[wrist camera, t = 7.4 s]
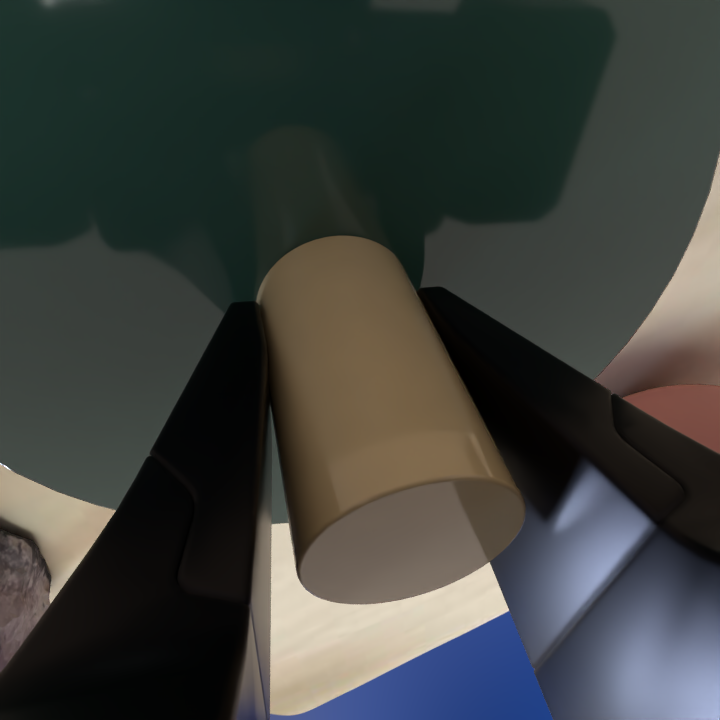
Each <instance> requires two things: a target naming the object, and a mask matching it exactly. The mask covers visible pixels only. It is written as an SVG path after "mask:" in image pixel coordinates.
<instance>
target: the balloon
mask: <svg viewBox="0 0 720 720" xmlns="http://www.w3.org/2000/svg"><path fill="white" fill-rule="evenodd" d="M623 399H625V400H626V401H628V402H629V403H631V404H633V405H634V406H636V407H638V408H639V409H641V410H643V411H644V412H646V413H648V414H649V415H651V416H653V417H654V418H656V419H658V420H659V421H661V422H663V423H664V424H666V425H668V426H670V427H671V428H673V429H675V430H677V431H679V432H680V433H682V434H684V435H686V436H688V437H690V438H691V439H693V440H695V441H697V442H699V443H701V444H702V445H704V446H706V447H708V448H710V449H712V450H714V451H715V452H717V453H719V454H720V386H716V385H701V384H686V385H671V386H664V387H658V388H653V389H649V390H644V391H641V392H637V393H634V394H631V395H628V396H625V397H623Z"/></svg>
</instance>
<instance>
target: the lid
mask: <svg viewBox="0 0 720 720" xmlns="http://www.w3.org/2000/svg"><path fill="white" fill-rule="evenodd" d="M719 154H720V0H0V464H1V465H3V466H5V467H6V468H8V469H10V470H11V471H13V472H15V473H17V474H19V475H21V476H23V477H26V478H28V479H30V480H32V481H34V482H37V483H39V484H41V485H43V486H46V487H48V488H50V489H52V490H54V491H57V492H59V493H62V494H65V495H68V496H71V497H74V498H77V499H80V500H83V501H86V502H89V503H91V504H94V505H97V506H101V507H105V508H109V509H113V510H117V508H118V506H119V505H120V503H121V501H122V500H123V498H124V496H125V495H126V493H127V491H128V490H129V488H130V486H131V485H132V483H133V481H134V479H135V478H136V476H137V474H138V472H139V470H140V468H141V467H142V465H143V463H144V461H145V459H146V458H147V457H148V456H150V455H149V453H150V451H151V449H152V447H153V445H154V443H155V441H156V440H157V438H158V436H159V434H160V432H161V430H162V429H163V427H164V425H165V423H166V421H167V419H168V418H169V416H170V414H171V412H172V410H173V408H174V406H175V405H176V403H177V401H178V399H179V397H180V395H181V394H182V392H183V390H184V388H185V386H186V384H187V383H188V381H189V379H190V377H191V375H192V373H193V372H194V370H195V368H196V366H197V364H198V362H199V361H200V359H201V357H202V355H203V353H204V351H205V350H206V348H207V346H208V344H209V342H210V340H211V339H212V337H213V335H214V333H215V331H216V329H217V328H218V326H219V324H220V322H221V320H222V318H223V317H224V315H225V313H226V311H227V309H228V307H229V306H230V304H231V303H233V302H242V301H256V302H257V303H258V304H259V308H260V313H261V318H262V323H263V329H264V334H265V339H266V345H267V355H268V374H269V399H270V411H271V429H272V517H271V524H280V523H289V528H290V535H291V541H292V547H293V554H294V560H295V567H296V573H297V577H298V579H299V581H300V583H301V584H302V585H303V587H304V588H305V589H306V590H307V591H308V592H310V593H311V594H313V595H314V596H317V597H319V598H321V599H324V600H327V601H331V602H336V603H343V604H376V603H384V602H391V601H396V600H402V599H406V598H410V597H414V596H417V595H421V594H424V593H427V592H430V591H433V590H436V589H439V588H441V587H444V586H446V585H449V584H451V583H453V582H455V581H457V580H459V579H462V578H463V577H465V576H467V575H469V574H471V573H473V572H474V571H476V570H478V569H479V568H481V567H483V566H484V565H486V564H487V563H488V562H490V561H491V560H493V559H494V558H495V557H496V556H498V555H499V554H500V553H501V552H503V551H504V550H505V549H506V548H507V547H508V546H509V545H510V544H511V542H512V541H513V540H514V539H515V538H516V536H517V535H518V533H519V532H520V530H521V528H522V526H523V524H524V521H525V517H526V503H525V500H524V497H523V495H522V493H521V491H520V489H519V487H518V485H517V483H516V481H515V479H514V477H513V475H512V474H511V472H510V470H509V468H508V466H507V464H506V462H505V460H504V458H503V456H502V454H501V452H500V451H499V449H498V447H497V445H496V443H495V441H494V439H493V437H492V435H491V433H490V431H489V429H488V428H487V426H486V424H485V422H484V420H483V418H482V416H481V414H480V412H479V410H478V408H477V406H476V405H475V403H474V401H473V399H472V397H471V395H470V393H469V391H468V389H467V387H466V385H465V383H464V382H463V380H462V378H461V376H460V374H459V372H458V370H457V368H456V366H455V364H454V362H453V360H452V359H451V357H450V355H449V353H448V351H447V349H446V347H445V345H444V343H443V341H442V339H441V337H440V336H439V334H438V332H437V330H436V328H435V326H434V324H433V322H432V320H431V318H430V316H429V314H428V313H427V311H426V309H425V307H424V305H423V303H422V301H421V299H420V297H419V295H418V293H417V290H418V289H420V288H424V287H436V286H440V287H443V288H445V289H447V290H448V291H450V292H452V293H453V294H455V295H457V296H458V297H460V298H461V299H463V300H465V301H466V302H468V303H469V304H471V305H473V306H474V307H476V308H478V309H479V310H481V311H482V312H484V313H486V314H487V315H489V316H490V317H492V318H494V319H495V320H497V321H499V322H500V323H502V324H503V325H505V326H507V327H508V328H510V329H511V330H513V331H515V332H516V333H518V334H519V335H521V336H523V337H524V338H526V339H528V340H529V341H531V342H532V343H534V344H536V345H537V346H539V347H540V348H542V349H544V350H545V351H547V352H549V353H550V354H552V355H553V356H555V357H557V358H558V359H560V360H561V361H563V362H565V363H566V364H568V365H570V366H571V367H573V368H574V369H576V370H578V371H579V372H581V373H582V374H584V375H586V376H587V377H589V378H591V379H592V380H594V379H595V378H596V377H597V376H598V375H599V374H600V373H601V372H602V371H603V370H604V369H605V368H606V367H607V366H608V364H609V363H610V362H611V361H612V360H613V359H614V358H615V357H616V356H617V354H618V353H619V352H620V351H621V350H622V349H623V348H624V347H625V345H626V344H627V343H628V342H629V340H630V339H631V338H632V336H633V335H634V334H635V332H636V331H637V330H638V328H639V327H640V326H641V324H642V323H643V322H644V321H645V319H646V318H647V317H648V315H649V314H650V313H651V311H652V310H653V308H654V306H655V305H656V303H657V302H658V300H659V298H660V297H661V295H662V293H663V292H664V290H665V289H666V287H667V285H668V284H669V282H670V281H671V279H672V277H673V276H674V274H675V272H676V270H677V268H678V266H679V264H680V262H681V260H682V258H683V256H684V254H685V252H686V250H687V248H688V246H689V244H690V242H691V240H692V238H693V236H694V233H695V230H696V228H697V225H698V222H699V220H700V217H701V214H702V212H703V209H704V206H705V204H706V201H707V198H708V196H709V193H710V190H711V186H712V182H713V178H714V174H715V170H716V166H717V162H718V158H719Z"/></svg>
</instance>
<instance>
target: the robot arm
mask: <svg viewBox="0 0 720 720" xmlns="http://www.w3.org/2000/svg"><path fill="white" fill-rule="evenodd" d="M417 293H418V295H419V297H420V299H421V301H422V303H423V305H424V307H425V309H426V311H427V313H428V314H429V316H430V318H431V320H432V322H433V324H434V326H435V328H436V330H437V332H438V334H439V336H440V337H441V339H442V341H443V343H444V345H445V347H446V349H447V351H448V353H449V355H450V357H451V359H452V360H453V362H454V364H455V366H456V368H457V370H458V372H459V374H460V376H461V378H462V380H463V382H464V383H465V385H466V387H467V389H468V391H469V393H470V395H471V397H472V399H473V401H474V403H475V405H476V406H477V408H478V410H479V412H480V414H481V416H482V418H483V420H484V422H485V424H486V426H487V428H488V429H489V431H490V433H491V435H492V437H493V439H494V441H495V443H496V445H497V447H498V449H499V451H500V452H501V454H502V456H503V458H504V460H505V462H506V464H507V466H508V468H509V470H510V472H511V474H512V475H513V477H514V479H515V481H516V483H517V485H518V487H519V489H520V491H521V493H522V495H523V497H524V500H525V503H526V517H525V521H524V524H523V526H522V528H521V530H520V532H519V533H518V535H517V536H516V538H515V539H514V540H513V541H512V542H511V544H510V545H509V546H508V547H507V548H506V549H505V550H504V551H503V552H501V553H500V554H499V555H498V556H496V557H495V558H494V559H493V560H491V561H490V564H491V566H492V569H493V571H494V574H495V576H496V579H497V581H498V584H499V586H500V588H501V591H502V593H503V596H504V598H505V601H506V603H507V606H508V608H509V611H510V613H511V616H512V618H513V621H514V623H515V625H516V628H517V630H518V633H519V635H520V638H521V640H522V643H523V645H524V647H525V650H526V653H527V655H528V658H529V660H530V662H531V665H532V667H533V668H535V670H534V673H535V676H536V678H537V681H538V683H539V686H540V688H541V690H542V693H543V695H544V698H545V700H546V703H547V705H548V708H549V710H550V713H551V715H552V717H553V720H720V454H719V453H717V452H715V451H714V450H712V449H710V448H708V447H706V446H704V445H702V444H701V443H699V442H697V441H695V440H693V439H691V438H690V437H688V436H686V435H684V434H682V433H680V432H679V431H677V430H675V429H673V428H671V427H670V426H668V425H666V424H664V423H663V422H661V421H659V420H658V419H656V418H654V417H653V416H651V415H649V414H648V413H646V412H644V411H643V410H641V409H639V408H638V407H636V406H634V405H633V404H631V403H629V402H628V401H626V400H625V399H623V398H621V397H620V396H618V395H617V394H612V395H611V391H610V390H608V389H607V388H605V387H603V386H602V385H600V384H599V383H597V382H595V381H594V380H592V379H591V378H589V377H587V376H586V375H584V374H582V373H581V372H579V371H578V370H576V369H574V368H573V367H571V366H570V365H568V364H566V363H565V362H563V361H561V360H560V359H558V358H557V357H555V356H553V355H552V354H550V353H549V352H547V351H545V350H544V349H542V348H540V347H539V346H537V345H536V344H534V343H532V342H531V341H529V340H528V339H526V338H524V337H523V336H521V335H519V334H518V333H516V332H515V331H513V330H511V329H510V328H508V327H507V326H505V325H503V324H502V323H500V322H499V321H497V320H495V319H494V318H492V317H490V316H489V315H487V314H486V313H484V312H482V311H481V310H479V309H478V308H476V307H474V306H473V305H471V304H469V303H468V302H466V301H465V300H463V299H461V298H460V297H458V296H457V295H455V294H453V293H452V292H450V291H448V290H447V289H445V288H443V287H440V286H436V287H424V288H420V289H418V290H417ZM149 455H150V456H148V457H147V458H146V459H145V461H144V463H143V465H142V467H141V468H140V470H139V472H138V474H137V476H136V478H135V479H134V481H133V483H132V485H131V486H130V488H129V490H128V491H127V493H126V495H125V496H124V498H123V500H122V501H121V503H120V505H119V506H118V508H117V510H116V512H115V513H114V515H113V516H112V518H111V519H110V521H109V522H108V523H107V525H106V526H105V528H104V529H103V531H102V532H101V534H100V535H99V537H98V538H97V540H96V541H95V543H94V544H93V545H92V547H91V548H90V550H89V551H88V553H87V554H86V555H85V557H84V558H83V560H82V561H81V562H80V564H79V565H78V567H77V568H76V569H75V571H74V572H73V574H72V575H71V576H70V578H69V579H68V581H67V582H66V583H65V585H64V586H63V588H62V589H61V590H60V592H59V593H58V594H57V596H56V597H55V599H54V600H53V601H52V603H51V604H50V606H49V607H48V608H47V610H46V611H45V613H44V614H43V615H42V617H41V618H40V620H39V621H38V622H37V624H36V625H35V626H34V628H33V629H32V631H31V632H30V633H29V635H28V636H27V638H26V639H25V640H24V642H23V643H22V645H21V646H20V647H19V649H18V650H17V651H16V653H15V654H14V655H13V657H12V658H11V659H10V661H9V662H8V664H7V665H6V666H5V667H4V669H3V670H2V671H1V672H0V720H270V627H271V517H272V429H271V411H270V399H269V374H268V355H267V345H266V339H265V334H264V329H263V323H262V318H261V313H260V308H259V304H258V303H257V302H256V301H242V302H233V303H231V304H230V306H229V307H228V309H227V311H226V313H225V315H224V317H223V318H222V320H221V322H220V324H219V326H218V328H217V329H216V331H215V333H214V335H213V337H212V339H211V340H210V342H209V344H208V346H207V348H206V350H205V351H204V353H203V355H202V357H201V359H200V361H199V362H198V364H197V366H196V368H195V370H194V372H193V373H192V375H191V377H190V379H189V381H188V383H187V384H186V386H185V388H184V390H183V392H182V394H181V395H180V397H179V399H178V401H177V403H176V405H175V406H174V408H173V410H172V412H171V414H170V416H169V418H168V419H167V421H166V423H165V425H164V427H163V429H162V430H161V432H160V434H159V436H158V438H157V440H156V441H155V443H154V445H153V447H152V449H151V451H150V453H149Z"/></svg>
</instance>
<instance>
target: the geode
mask: <svg viewBox="0 0 720 720" xmlns="http://www.w3.org/2000/svg"><path fill="white" fill-rule="evenodd" d="M50 584H51V576H50V574H49V572H48V569H47V566H46V563H45V560H44V559H43V558H42V557H41V555H40V552H39V548H38V547H37V546H36V545H35V543H34V542H33V541H32V540H29V539H26V538H23V537H20V536H17V535H15V534H12V533H9V532H6V531H4V530H1V529H0V672H1V671H2V670H3V669H4V667H5V666H6V665H7V664H8V662H9V661H10V659H11V658H12V657H13V655H14V654H15V653H16V651H17V650H18V649H19V647H20V646H21V645H22V643H23V642H24V640H25V639H26V638H27V636H28V635H29V633H30V632H31V631H32V629H33V628H34V626H35V625H36V624H37V622H38V621H39V620H40V618H41V617H42V615H43V614H44V613H45V611H46V610H47V608H48V607H49V606H50V601H49V593H50Z"/></svg>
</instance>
